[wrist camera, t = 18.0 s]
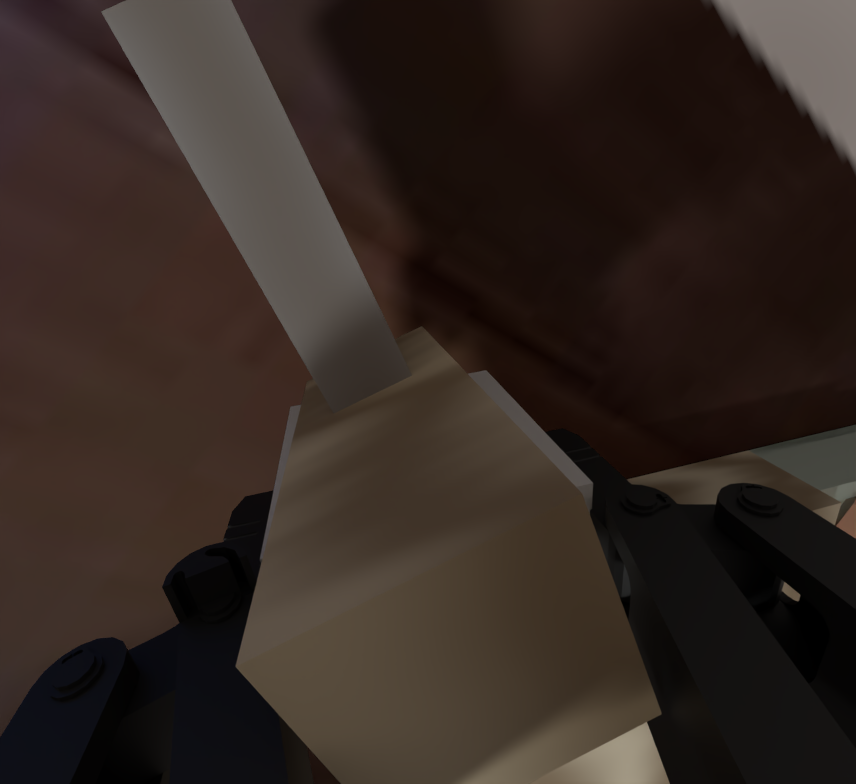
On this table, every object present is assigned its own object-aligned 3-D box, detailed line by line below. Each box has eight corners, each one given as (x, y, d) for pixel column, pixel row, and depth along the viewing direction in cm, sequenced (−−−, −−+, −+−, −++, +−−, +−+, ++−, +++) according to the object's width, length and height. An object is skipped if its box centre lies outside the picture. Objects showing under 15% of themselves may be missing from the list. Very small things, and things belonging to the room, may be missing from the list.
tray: (703, 682, 33) (750, 740, 29) (748, 450, 25) (819, 490, 21) (859, 632, 35) (921, 680, 31) (946, 402, 27) (1042, 431, 23)
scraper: (452, 630, 18) (568, 1037, 9) (145, 106, 11) (-956, -655, 2) (539, 586, 18) (744, 942, 9) (292, 39, 11) (32, -1029, 2)
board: (498, 748, 31) (529, 841, 26) (477, 515, 23) (515, 590, 18) (703, 682, 33) (763, 757, 28) (748, 450, 25) (841, 502, 20)
